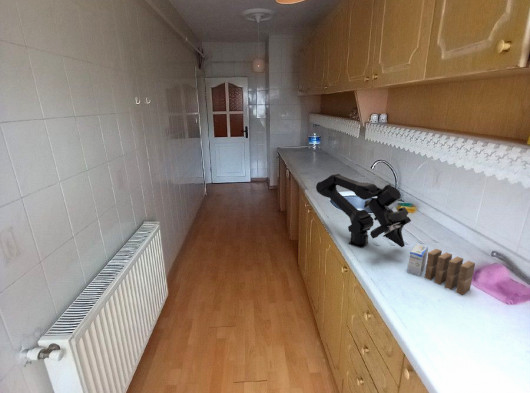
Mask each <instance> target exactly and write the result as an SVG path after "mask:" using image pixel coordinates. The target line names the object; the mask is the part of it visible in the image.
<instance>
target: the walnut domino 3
mask: <svg viewBox="0 0 530 393" xmlns="http://www.w3.org/2000/svg"><path fill="white" fill-rule="evenodd" d="M463 262H464V258H462V257H459V256H455V257H454V258H453V257H452V259H451V260H450V261H449V266H448V271H447V277H446V282H444V283H445V285H444V288H446V289H448V290H451V291H452V290H453V289H454V288H455V289H456V288H457V283H458V278H459V272H460V267H461V265H462V264H464V263H463Z"/></svg>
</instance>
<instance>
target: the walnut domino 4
mask: <svg viewBox="0 0 530 393" xmlns="http://www.w3.org/2000/svg"><path fill="white" fill-rule="evenodd" d="M475 266H476V263H475V262H473V261H470V260H467V261H465V262H464V263H463V264H462V265H461V267H460V272H459V278H458V283H457V286H456V288H455V289H456V290H455V293H456V294H459V295H461V296H464V295H465V294H467V292H468V291H470V289H471V287H472V281H473V276H474V272H475Z"/></svg>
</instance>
